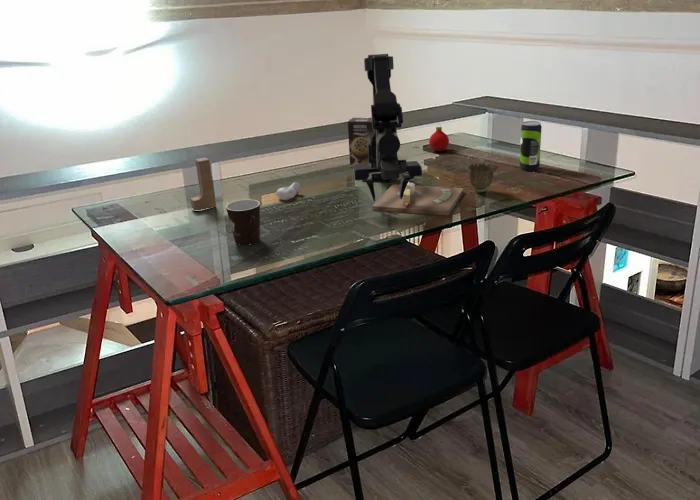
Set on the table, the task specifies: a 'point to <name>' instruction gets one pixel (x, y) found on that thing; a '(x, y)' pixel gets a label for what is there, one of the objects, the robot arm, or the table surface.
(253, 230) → the coffee mug
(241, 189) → the table surface
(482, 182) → the cup
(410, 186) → the tuner pointer lever
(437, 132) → the christmas ornament
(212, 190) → the wooden block
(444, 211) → the tuner board
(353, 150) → the coffee box
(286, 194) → the pale two-lobed sculpture
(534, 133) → the beverage can
